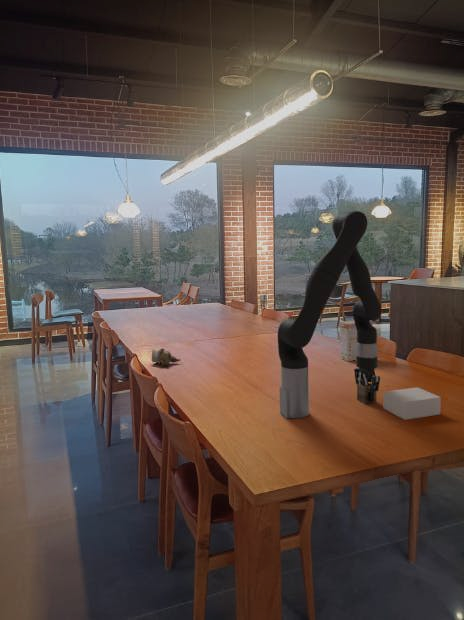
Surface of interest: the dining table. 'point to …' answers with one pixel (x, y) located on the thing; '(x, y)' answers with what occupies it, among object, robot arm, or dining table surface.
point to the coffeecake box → (348, 340)
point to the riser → (411, 403)
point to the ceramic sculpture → (163, 357)
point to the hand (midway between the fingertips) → (366, 399)
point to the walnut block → (364, 393)
